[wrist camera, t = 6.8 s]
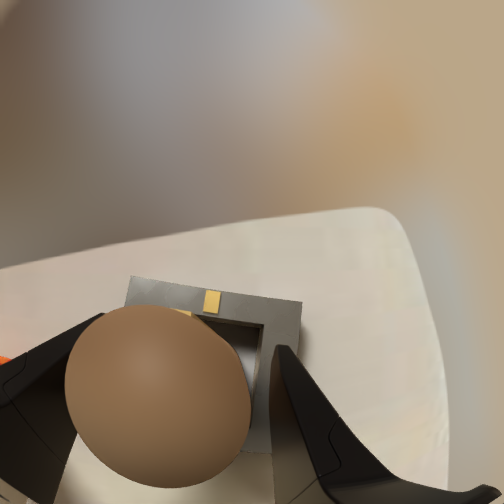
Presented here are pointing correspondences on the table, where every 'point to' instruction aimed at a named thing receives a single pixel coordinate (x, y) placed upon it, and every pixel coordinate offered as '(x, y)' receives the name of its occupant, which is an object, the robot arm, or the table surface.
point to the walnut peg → (158, 396)
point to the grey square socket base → (238, 313)
